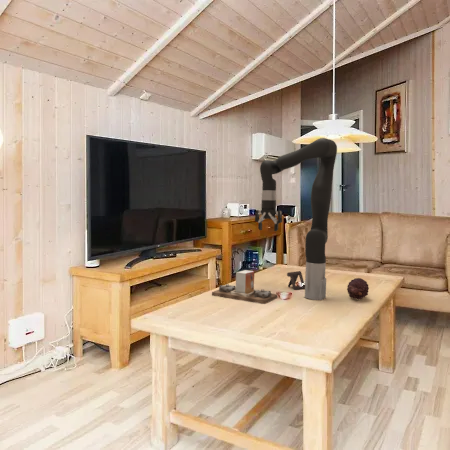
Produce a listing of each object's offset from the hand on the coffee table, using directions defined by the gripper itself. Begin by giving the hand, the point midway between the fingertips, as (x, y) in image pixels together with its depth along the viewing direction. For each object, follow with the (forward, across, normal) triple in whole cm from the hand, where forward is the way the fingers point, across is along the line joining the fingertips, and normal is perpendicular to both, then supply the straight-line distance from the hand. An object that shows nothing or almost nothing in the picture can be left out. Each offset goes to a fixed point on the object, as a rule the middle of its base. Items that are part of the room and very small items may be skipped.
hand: (268, 230), depth 221 cm
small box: (+29, +1, +23) cm, 37 cm away
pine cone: (+30, -46, -4) cm, 55 cm away
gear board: (+30, +1, +23) cm, 38 cm away
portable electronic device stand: (+30, -13, -9) cm, 34 cm away
